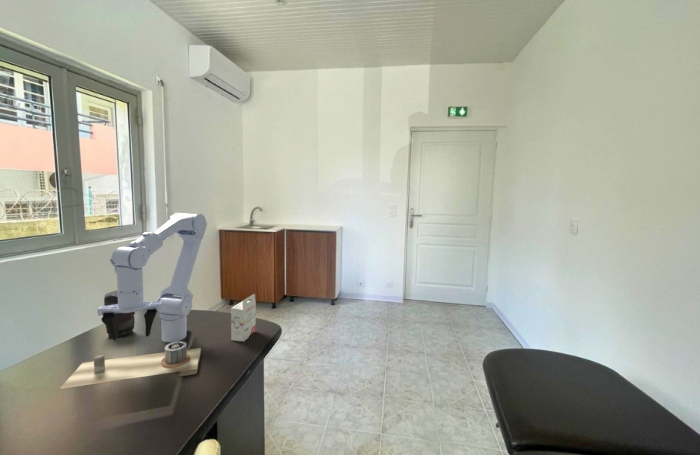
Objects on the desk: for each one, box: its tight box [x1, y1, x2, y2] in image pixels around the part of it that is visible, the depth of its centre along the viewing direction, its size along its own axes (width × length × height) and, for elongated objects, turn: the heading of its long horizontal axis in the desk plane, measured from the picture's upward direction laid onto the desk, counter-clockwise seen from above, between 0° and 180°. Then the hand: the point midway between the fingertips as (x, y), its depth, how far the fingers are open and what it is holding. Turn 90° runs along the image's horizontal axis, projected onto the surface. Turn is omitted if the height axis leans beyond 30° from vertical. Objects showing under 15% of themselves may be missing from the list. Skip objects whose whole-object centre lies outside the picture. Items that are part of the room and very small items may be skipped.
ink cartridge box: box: [230, 293, 257, 343], centre depth 107 cm, size 9×5×15 cm, turn 168°
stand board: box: [59, 345, 202, 390], centre depth 84 cm, size 12×30×6 cm, turn 111°
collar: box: [164, 340, 188, 364], centre depth 87 cm, size 5×5×4 cm
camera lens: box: [103, 290, 136, 340], centre depth 103 cm, size 8×8×15 cm
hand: (132, 336), depth 84 cm, fingers open, 7 cm apart
